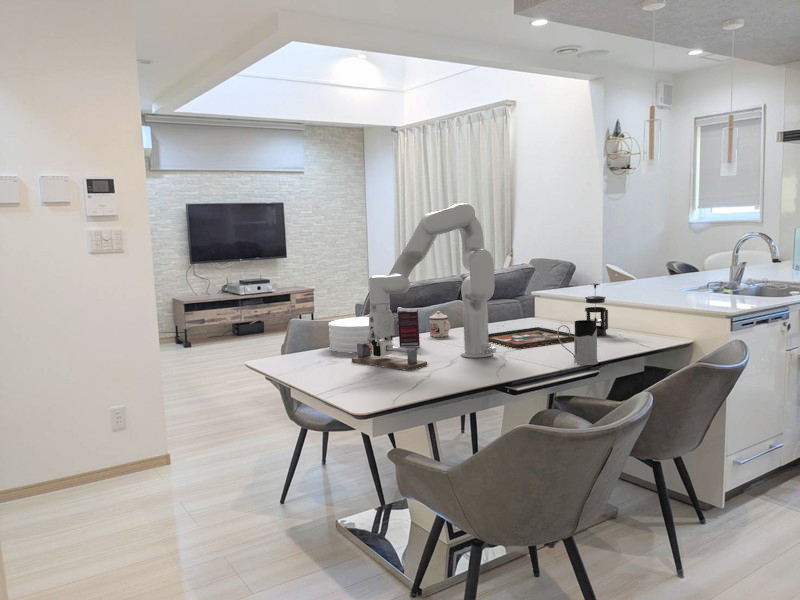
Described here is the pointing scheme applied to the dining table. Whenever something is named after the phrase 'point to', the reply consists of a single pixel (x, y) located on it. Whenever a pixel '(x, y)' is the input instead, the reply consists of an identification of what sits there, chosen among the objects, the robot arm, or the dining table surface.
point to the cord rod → (366, 348)
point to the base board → (389, 362)
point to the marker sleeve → (384, 347)
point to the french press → (604, 321)
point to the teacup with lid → (439, 325)
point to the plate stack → (348, 333)
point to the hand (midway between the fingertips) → (382, 354)
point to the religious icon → (529, 337)
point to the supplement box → (408, 329)
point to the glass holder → (584, 342)
